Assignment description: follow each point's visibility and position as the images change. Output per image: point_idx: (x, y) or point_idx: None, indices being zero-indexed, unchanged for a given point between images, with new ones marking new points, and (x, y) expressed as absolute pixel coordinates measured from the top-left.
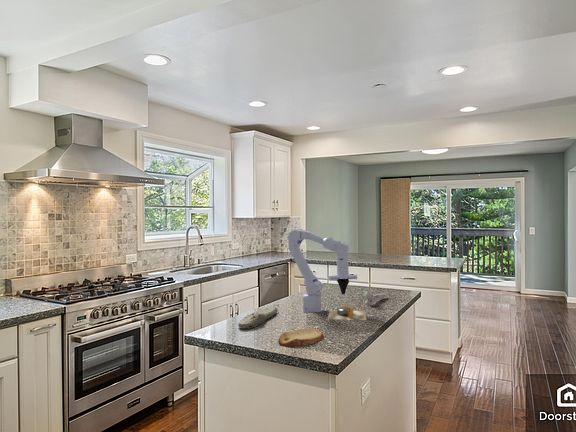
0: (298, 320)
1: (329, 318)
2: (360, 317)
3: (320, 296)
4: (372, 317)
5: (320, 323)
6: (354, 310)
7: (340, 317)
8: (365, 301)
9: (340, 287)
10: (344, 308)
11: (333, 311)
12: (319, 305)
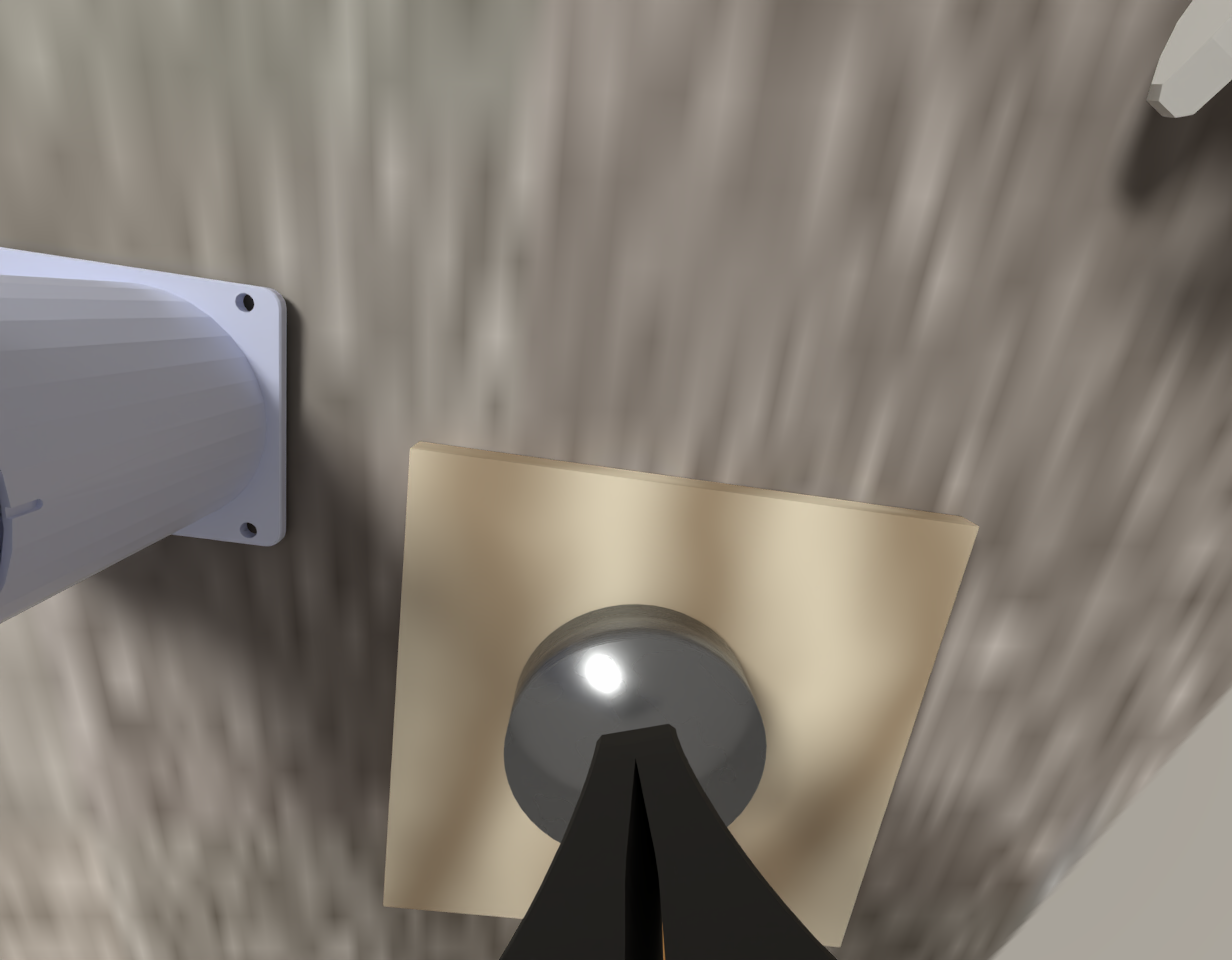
0: (28, 855)
1: (407, 888)
2: (801, 852)
3: (43, 561)
4: (969, 745)
5: (315, 955)
6: (813, 507)
7: (549, 851)
8: (1216, 46)
9: (567, 900)
10: (631, 723)
11: (468, 558)
12: (177, 521)
